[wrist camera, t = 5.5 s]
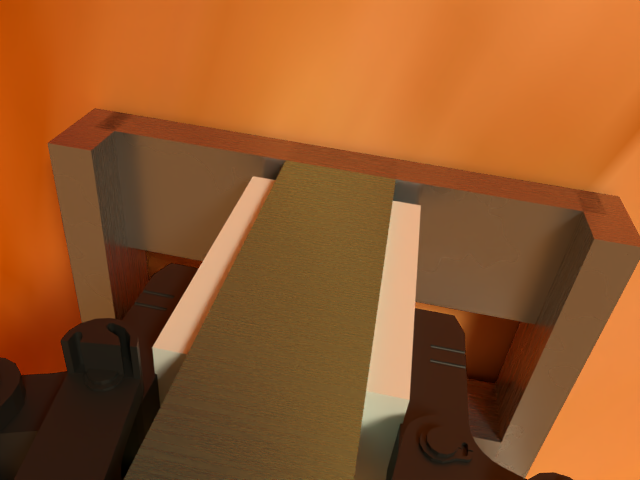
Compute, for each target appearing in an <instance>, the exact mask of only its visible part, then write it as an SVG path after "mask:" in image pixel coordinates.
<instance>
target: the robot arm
mask: <svg viewBox="0 0 640 480" xmlns="http://www.w3.org/2000/svg"><path fill="white" fill-rule="evenodd" d="M275 181H276V180H272V179H266V178H260V177H254V176H253V177H252V179H251V181H250V182H249V184H248V186H247V187H246V189H245V191H244V192H243V194H242V196H241V198H240V199H239V201H238V203H237V204H236V206H235V208H234V209H233V211H232V213H231V214H230V216H229V218H228V220H227V221H226V223H225V225H224V226H223V228H222V230H221V231H220V233H219V235H218V237H217V238H216V240H215V242H214V243H213V245H212V247H211V248H210V250H209V252H208V254H207V255H206V257H205V259H204V260H203V262H202V264H201V265H200V267H199V268H194V267H189V266H183V265H178V264H173V263H171V264H169V265H168V266H166V267H165V268H163V269H161V270H160V271H158V272H157V273H155V274H154V275H153V276H152V278H151V279H150V281H149V282H148V284H147V285H146V286H145V288H144V289H143V293H141V294H140V295H139V297H138V298H137V300H136V301H135V304H134V305H132V307H131V308H130V310H129V311H128V313H127V314H126V316H125V317H124V318H123V320H118V319H114V318H97V319H93V320H90V321H86V322H83V323H81V324H79V325H77V326H76V327H74V328H72V329H71V330H69V331H68V332H67V333H66V335H65V336H64V337H63V338H62V339H61V345H62V349H63V354H64V358H65V362H66V367H67V371H66V372H59V373H50V374H34V375H21V373H20V371H19V369H18V368H17V366H16V364H15V363H13V362H11V361H10V360H8V359H6V358H0V480H124V478H125V476H126V474H127V472H128V470H129V468H130V466H131V464H132V462H133V460H134V458H135V456H136V454H137V452H138V450H139V448H140V447H141V445H142V443H143V441H144V439H145V437H146V435H147V433H148V431H149V429H150V427H151V425H152V423H153V421H154V419H155V417H156V415H157V413H158V411H159V409H160V407H161V405H162V403H163V401H164V399H165V397H166V395H167V393H168V391H169V389H170V388H171V386H172V384H173V382H174V380H175V378H176V376H177V374H178V372H179V370H180V368H181V366H182V364H183V362H184V360H185V358H186V356H187V354H188V352H189V350H190V348H191V346H192V344H193V342H194V340H195V338H196V336H197V334H198V332H199V330H200V328H201V327H202V325H203V323H204V321H205V319H206V317H207V315H208V313H209V311H210V309H211V307H212V305H213V303H214V301H215V299H216V297H217V295H218V293H219V291H220V289H221V287H222V285H223V283H224V281H225V279H226V277H227V275H228V273H229V271H230V269H231V267H232V266H233V264H234V262H235V260H236V258H237V256H238V254H239V252H240V250H241V248H242V246H243V244H244V242H245V240H246V238H247V236H248V234H249V232H250V230H251V228H252V226H253V224H254V222H255V220H256V218H257V216H258V214H259V212H260V210H261V208H262V206H263V205H264V203H265V201H266V199H267V197H268V195H269V193H270V191H271V189H272V187H273V185H274V183H275ZM420 211H421V205H415V204H409V203H403V202H398V201H393V202H392V210H391V217H390V224H389V231H388V238H387V245H386V253H385V260H384V267H383V274H382V281H381V288H380V296H379V303H378V310H377V317H376V324H375V331H374V339H373V346H372V353H371V360H370V367H369V374H368V382H367V389H366V396H365V403H364V410H363V417H362V425H361V432H360V439H359V446H358V453H357V460H356V468H355V475H354V480H527V479H525V478H523V477H521V476H519V475H517V474H515V473H513V472H511V471H510V470H508V469H506V468H504V467H502V466H500V465H499V464H497V463H496V462H494V461H492V460H491V459H490V458H489V457H488V456H487V455H486V454H484V453H483V452H482V450H481V449H480V448H479V446H478V445H477V444H476V443H475V440H474V438H473V436H472V434H471V431H470V426H469V413H468V393H467V373H466V355H465V333H464V331H463V330H462V328H461V326H460V324H459V323H458V321H457V319H456V318H455V316H453V315H448V314H443V313H438V312H432V311H427V310H422V309H417V308H415V297H416V280H417V262H418V245H419V228H420ZM528 480H573V479H571V478H570V477H567V476H564V475H560V474H557V473H539V474H537V475H535V476H533V477H532V478H530V479H528Z"/></svg>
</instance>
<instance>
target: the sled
mask: <svg viewBox="0 0 640 480" xmlns="http://www.w3.org/2000/svg"><path fill="white" fill-rule="evenodd" d="M48 148H49V153H50V158H51V163H52V169H53V174H54V179H55V184H56V190H57V195H58V200H59V205H60V211H61V216H62V221H63V226H64V231H65V237H66V242H67V247H68V252H69V258H70V263H71V268H72V273H73V279H74V284H75V289H76V294H77V300H78V305H79V310H80V315H81V321H82V323H83V322H86V321H90V320H93V319H97V318H114V319H118V320H123V318H124V317H125V316H126V314H127V313H128V311H129V310H130V308H131V307H132V305H134V304H135V301H136V300H137V298H138V297H139V295H140V294H141V293H143V289H144V288H145V286H146V285H147V284H148V282H149V276H148V266H147V255H146V251H151V252H157V253H162V254H167V255H172V256H178V257H183V258H188V259H193V260H199V261H203V260H204V259H205V257H206V255H207V254H208V252H209V250H210V248H211V247H212V245H213V243H214V242H215V240H216V238H217V237H218V235H219V233H220V231H221V230H222V228H223V226H224V225H225V223H226V221H227V220H228V218H229V216H230V214H231V213H232V211H233V209H234V208H235V206H236V204H237V203H238V201H239V199H240V198H241V196H242V194H243V192H244V191H245V189H246V187H247V186H248V184H249V182H250V181H251V179H252V177H253V176H254V177H260V178H266V179H272V180H276V181H275V183H274V185H273V187H272V189H271V191H270V193H269V195H268V197H267V199H266V201H265V203H264V205H263V206H262V208H261V210H260V212H259V214H258V216H257V218H256V220H255V222H254V224H253V226H252V228H251V230H250V232H249V234H248V236H247V238H246V240H245V242H244V244H243V246H242V248H241V250H240V252H239V254H238V256H237V258H236V260H235V262H234V264H233V266H232V267H231V269H230V271H229V273H228V275H227V277H226V279H225V281H224V283H223V285H222V287H221V289H220V291H219V293H218V295H217V297H216V299H215V301H214V303H213V305H212V307H211V309H210V311H209V313H208V315H207V317H206V319H205V321H204V323H203V325H202V327H201V328H200V330H199V332H198V334H197V336H196V338H195V340H194V342H193V344H192V346H191V348H190V350H189V352H188V354H187V356H186V358H185V360H184V362H183V364H182V366H181V368H180V370H179V372H178V374H177V376H176V378H175V380H174V382H173V384H172V386H171V388H170V389H169V391H168V393H167V395H166V397H165V399H164V401H163V403H162V405H161V407H160V409H159V411H158V413H157V415H156V417H155V419H154V421H153V423H152V425H151V427H150V429H149V431H148V433H147V435H146V437H145V439H144V441H143V443H142V445H141V447H140V448H139V450H138V452H137V454H136V456H135V458H134V460H133V462H132V464H131V466H130V468H129V470H128V472H127V474H126V476H125V478H124V480H354V475H355V468H356V460H357V453H358V446H359V439H360V432H361V425H362V417H363V410H364V403H365V396H366V389H367V382H368V374H369V367H370V360H371V353H372V346H373V339H374V331H375V324H376V317H377V310H378V303H379V296H380V288H381V281H382V274H383V267H384V260H385V253H386V245H387V238H388V231H389V224H390V217H391V210H392V202H393V201H398V202H403V203H409V204H415V205H421V211H420V228H419V245H418V262H417V280H416V297H415V302H420V303H425V304H431V305H436V306H441V307H446V308H452V309H457V310H462V311H468V312H473V313H478V314H483V315H489V316H494V317H499V318H504V319H510V320H515V321H520V324H519V327H518V329H517V331H516V334H515V336H514V339H513V341H512V344H511V346H510V349H509V351H508V354H507V356H506V358H505V361H504V363H503V366H502V368H501V371H500V373H499V376H498V378H497V380H496V383H495V384H494V383H489V382H484V381H479V380H474V379H469V378H467V393H468V413H469V426H470V431H471V434H472V436H473V438H474V440H475V443H476V444H477V445H478V446H479V448H480V449H481V450H482V452H483V453H484V454H486V455H487V456H488V457H489V458H490V459H491V460H492V461H494V462H496V463H497V464H499V465H500V466H502V467H504V468H506V469H508V470H510V471H511V472H513V473H515V474H517V475H519V476H521V477H523V478H525V477H526V475H527V473H528V471H529V469H530V467H531V465H532V463H533V462H534V460H535V458H536V456H537V454H538V452H539V450H540V448H541V446H542V444H543V443H544V441H545V439H546V437H547V435H548V433H549V431H550V429H551V427H552V425H553V423H554V422H555V420H556V418H557V416H558V414H559V412H560V410H561V408H562V406H563V404H564V403H565V401H566V399H567V397H568V395H569V393H570V391H571V389H572V387H573V385H574V384H575V382H576V380H577V378H578V376H579V374H580V372H581V370H582V368H583V366H584V365H585V363H586V361H587V359H588V357H589V355H590V353H591V351H592V349H593V347H594V346H595V344H596V342H597V340H598V338H599V336H600V334H601V332H602V330H603V328H604V327H605V325H606V323H607V321H608V319H609V317H610V315H611V313H612V311H613V309H614V308H615V306H616V304H617V302H618V300H619V298H620V296H621V294H622V292H623V290H624V289H625V287H626V285H627V283H628V281H629V279H630V277H631V275H632V273H633V271H634V270H635V268H636V266H637V264H638V262H639V260H640V236H639V234H638V232H637V230H636V228H635V226H634V224H633V222H632V220H631V219H630V217H629V215H628V213H627V211H626V209H625V207H624V205H623V203H622V201H621V199H620V197H618V196H612V195H606V194H600V193H594V192H588V191H582V190H576V189H570V188H564V187H558V186H553V185H547V184H541V183H535V182H529V181H523V180H517V179H511V178H505V177H499V176H493V175H487V174H481V173H475V172H469V171H463V170H457V169H452V168H446V167H440V166H434V165H428V164H422V163H416V162H410V161H404V160H398V159H392V158H386V157H380V156H374V155H368V154H362V153H357V152H351V151H345V150H339V149H333V148H327V147H321V146H315V145H309V144H303V143H297V142H291V141H285V140H279V139H273V138H267V137H262V136H256V135H250V134H244V133H238V132H232V131H226V130H220V129H214V128H208V127H202V126H196V125H190V124H184V123H178V122H172V121H167V120H161V119H155V118H149V117H143V116H137V115H131V114H125V113H119V112H113V111H107V110H101V109H94V110H92V111H91V112H89V113H88V114H87V115H85V116H84V117H83V118H81V119H80V120H78V121H77V122H76V123H74V124H73V125H72V126H70V127H69V128H68V129H66V130H65V131H63V132H62V133H61V134H59V135H58V136H57V137H55V138H54V139H53V140H51V141H50V142H48Z"/></svg>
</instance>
